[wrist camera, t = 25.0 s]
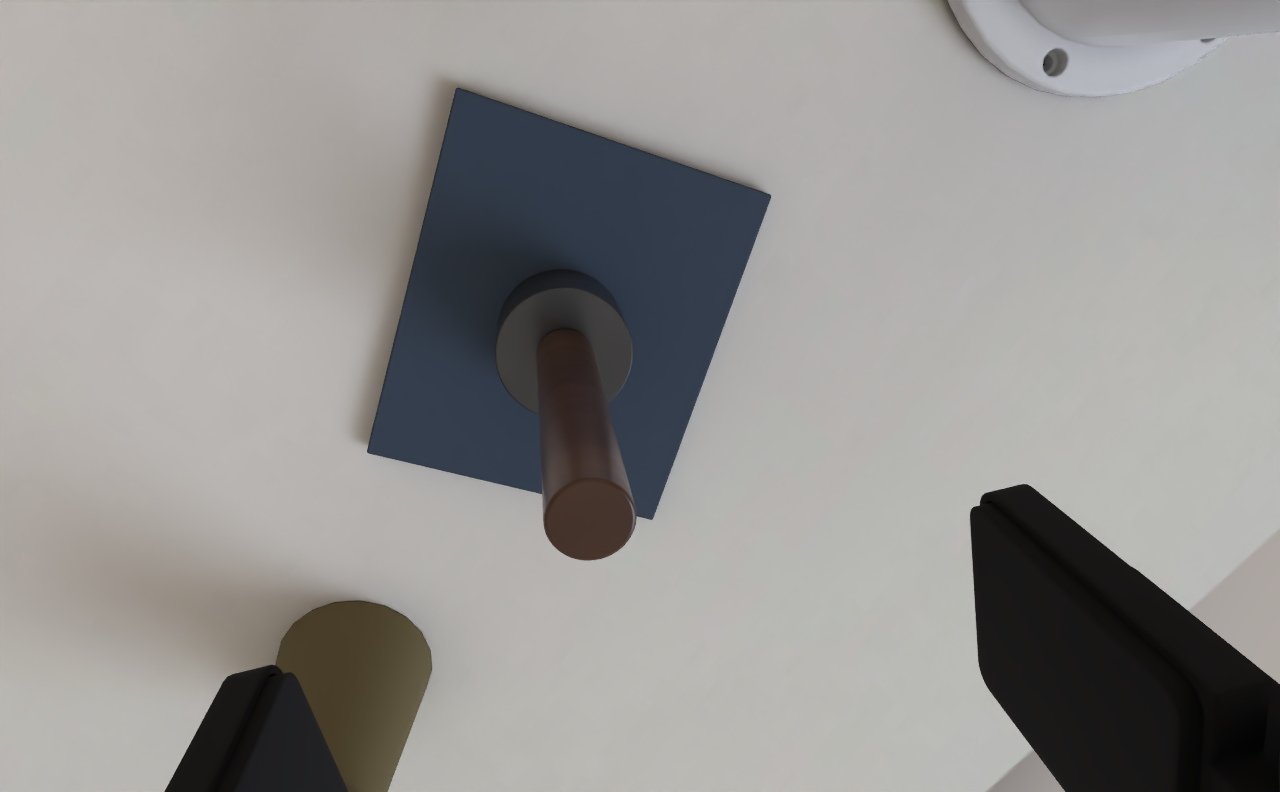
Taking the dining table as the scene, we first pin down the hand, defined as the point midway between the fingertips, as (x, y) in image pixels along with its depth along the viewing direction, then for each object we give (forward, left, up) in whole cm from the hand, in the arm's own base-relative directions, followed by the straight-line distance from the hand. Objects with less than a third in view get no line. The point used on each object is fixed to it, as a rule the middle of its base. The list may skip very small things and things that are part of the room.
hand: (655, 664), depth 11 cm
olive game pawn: (+16, -4, -20) cm, 26 cm away
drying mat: (0, 0, -20) cm, 20 cm away
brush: (+1, 0, -19) cm, 19 cm away
